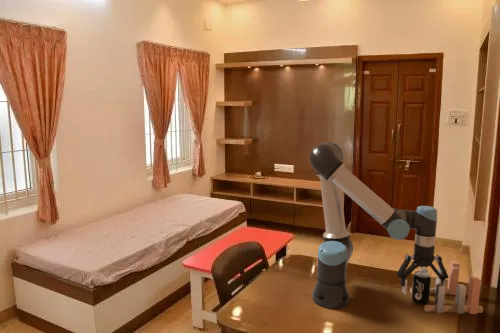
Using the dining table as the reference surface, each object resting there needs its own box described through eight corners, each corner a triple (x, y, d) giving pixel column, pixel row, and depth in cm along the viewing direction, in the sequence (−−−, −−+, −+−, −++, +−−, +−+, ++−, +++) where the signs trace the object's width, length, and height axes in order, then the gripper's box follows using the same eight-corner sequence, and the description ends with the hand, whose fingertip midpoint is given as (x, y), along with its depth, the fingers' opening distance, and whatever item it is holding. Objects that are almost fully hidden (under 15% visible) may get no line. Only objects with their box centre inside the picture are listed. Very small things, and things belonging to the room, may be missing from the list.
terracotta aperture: (470, 314, 152) (473, 280, 150) (447, 291, 170) (449, 261, 168) (477, 314, 152) (480, 280, 150) (453, 291, 170) (456, 261, 168)
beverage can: (431, 305, 158) (433, 277, 156) (415, 305, 158) (417, 277, 157) (424, 297, 165) (426, 270, 163) (408, 297, 165) (411, 270, 163)
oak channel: (425, 311, 153) (426, 306, 153) (409, 291, 170) (410, 287, 169) (482, 312, 153) (483, 308, 153) (460, 292, 169) (461, 288, 169)
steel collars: (436, 313, 152) (439, 286, 151) (417, 291, 171) (419, 267, 169) (463, 313, 152) (466, 287, 150) (441, 291, 170) (444, 267, 169)
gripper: (396, 247, 154) (393, 297, 158) (460, 248, 154) (455, 298, 157) (390, 240, 162) (387, 288, 165) (451, 241, 161) (447, 289, 164)
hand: (420, 293), depth 161 cm, fingers open, 13 cm apart
